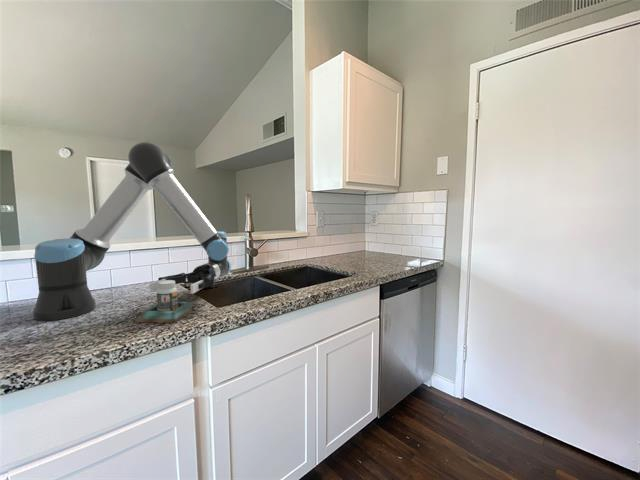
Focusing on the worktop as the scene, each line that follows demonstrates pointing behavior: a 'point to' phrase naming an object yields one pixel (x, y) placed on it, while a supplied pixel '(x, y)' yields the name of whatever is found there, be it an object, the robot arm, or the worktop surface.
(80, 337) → the worktop surface
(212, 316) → the worktop surface
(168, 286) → the pill bottle
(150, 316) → the socket board
